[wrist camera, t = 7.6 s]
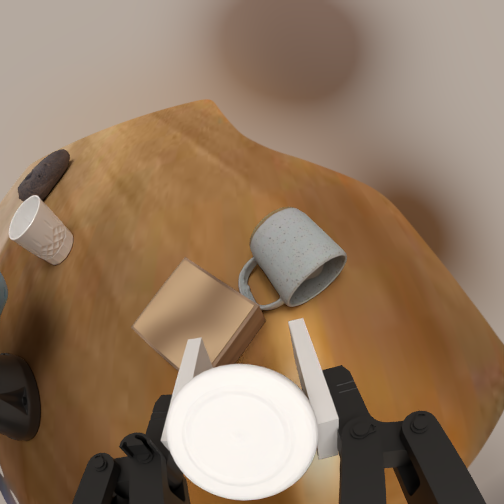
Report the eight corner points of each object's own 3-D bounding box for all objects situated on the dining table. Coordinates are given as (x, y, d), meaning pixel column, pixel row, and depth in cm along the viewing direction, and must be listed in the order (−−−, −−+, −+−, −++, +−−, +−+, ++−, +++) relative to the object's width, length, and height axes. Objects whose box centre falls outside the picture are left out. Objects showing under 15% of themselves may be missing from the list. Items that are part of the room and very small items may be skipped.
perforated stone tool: (70, 158, 51) (55, 138, 45) (79, 162, 49) (63, 141, 43) (30, 207, 46) (12, 190, 40) (36, 215, 45) (16, 196, 38)
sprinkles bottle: (285, 441, 17) (268, 525, 5) (231, 414, 18) (137, 451, 6) (314, 390, 18) (349, 403, 6) (260, 364, 20) (205, 334, 8)
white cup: (40, 263, 38) (3, 235, 29) (58, 225, 41) (25, 194, 33) (63, 273, 36) (21, 243, 27) (82, 230, 40) (46, 195, 31)
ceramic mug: (298, 227, 34) (297, 187, 27) (343, 275, 30) (354, 243, 23) (227, 276, 32) (207, 245, 26) (267, 332, 29) (257, 316, 22)
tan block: (157, 338, 30) (129, 326, 24) (202, 279, 32) (184, 255, 27) (216, 387, 26) (197, 387, 21) (265, 320, 29) (258, 304, 24)
